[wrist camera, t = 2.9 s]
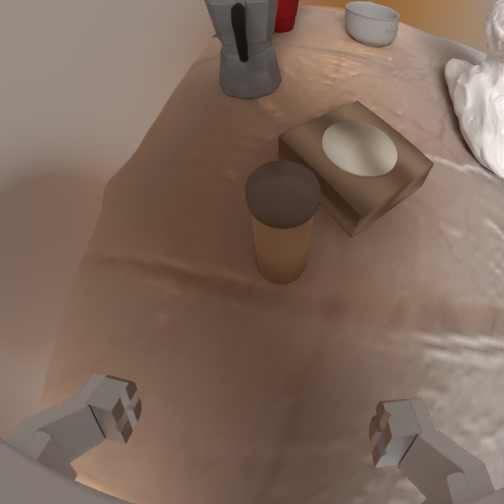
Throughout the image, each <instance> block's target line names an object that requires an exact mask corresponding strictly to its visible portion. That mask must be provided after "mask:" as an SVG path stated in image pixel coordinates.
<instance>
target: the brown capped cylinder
mask: <svg viewBox="0 0 504 504" xmlns="http://www.w3.org/2000/svg"><path fill="white" fill-rule="evenodd" d="M245 192H246V198H247V205H248V208H249V210H250V215H251V222H252V228H253V235H254V242H255V249H256V256H257V263H258V268H259V271H260V272H261V274H262V275H263V276H264V277H265V278H266V279H267V280H269V281H271V282H273V283H278V284H285V283H289V282H292V281H294V280H296V279H297V278H298V277H299V276H300V275H301V274H302V272H303V270H304V267H305V262H306V258H307V253H308V248H309V243H310V237H311V232H312V227H313V222H314V216H315V212H316V210H317V207H318V203H319V198H320V185H319V182H318V180H317V178H316V176H315V175H314V174H313V173H312V172H311V171H310V170H309V169H308V168H306V167H305V166H303V165H301V164H298V163H295V162H291V161H273V162H269V163H266V164H264V165H262V166H260V167H259V168H257V169H256V170H255V171H254V172H253V173H252V174H251V175H250V176H249V178H248V180H247V183H246V189H245Z"/></svg>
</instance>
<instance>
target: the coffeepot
mask: <svg viewBox="0 0 504 504" xmlns="http://www.w3.org/2000/svg"><path fill="white" fill-rule="evenodd" d="M204 1H205V3H206V6H207V9H208V12H209V14H210V17H211V20H212V23H213V26H214V28H215V31H216V34H217V37H218V38H219V40H220V41H221V42H222V49H221V54H220V81H219V84H220V85H221V87H222V89H223V91H224V92H225V93H226V94H227V95H230V96H232V97H236V98H243V99H251V98H258V97H262V96H266V95H268V94H270V93H272V92H274V91H275V90H276V89H277V87H278V85H279V83H280V82H281V76H280V72H279V68H278V64H277V59H276V55H275V51H274V48H273V46H272V45H271V38H270V37H271V36H272V35H273V34H274V28H275V21H276V13H277V6H278V0H204Z"/></svg>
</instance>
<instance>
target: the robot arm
mask: <svg viewBox="0 0 504 504" xmlns="http://www.w3.org/2000/svg"><path fill="white" fill-rule="evenodd" d="M136 391H137V387H136V384H135V382H132V381H129V380H125V379H121V378H117V377H114V376H110V375H106V374H102V373H99V372H96V373H94V374H93V375H92V376H91V378H90V379H89V380H88V382H87V383H86V384H85V385H84V387H83V388H82V389H81V391H80V392H79V393H78V395H77V396H76V397H75V399H74V400H72V399H69V400H67V401H64V402H62V403H60V404H57V405H55V406H53V407H50V408H48V409H46V410H43V411H41V412H39V413H36V414H34V415H31V416H29V417H27V418H24V419H22V420H21V421H20V422H19V423H18V425H17V426H16V427H15V428H14V430H13V431H12V432H11V434H10V435H9V436H8V437H7V439H6V440H5V441H4V440H2V439H1V438H0V504H134V503H131V502H128V501H125V500H122V499H119V498H117V497H114V496H111V495H108V494H106V493H103V492H101V491H98V490H96V489H93V488H91V487H89V486H86V485H84V484H82V483H79V482H77V481H75V478H76V476H77V473H76V471H75V470H74V469H73V467H72V466H71V465H70V462H72V461H73V460H75V459H76V458H78V457H79V456H81V455H82V454H84V453H86V452H87V451H89V450H90V449H92V448H93V447H95V446H96V445H98V444H99V443H101V442H102V441H104V440H105V438H107V439H110V440H113V441H117V442H120V443H124V444H126V443H127V441H128V439H129V437H130V435H131V433H132V432H133V430H132V426H131V425H133V424H135V423H136V422H138V420H139V418H140V415H141V410H142V405H141V400H140V398H139V397H138V396H137V395H136V394H135V392H136ZM376 412H377V414H376V415H375V416H373V417H372V420H371V422H370V427H369V439H370V443H371V444H372V445H373V446H375V448H374V450H373V452H372V456H373V461H374V467H375V468H378V467H389V466H398V468H399V469H400V470H401V471H402V472H403V473H404V474H405V475H406V476H407V477H408V479H409V480H410V481H411V482H412V483H413V484H414V485H415V486H416V487H417V488H418V489H419V490H420V492H421V493H422V494H423V495H424V496H425V497H426V498H427V499H426V500H425V501H424V502H423V503H421V504H504V487H503V488H501V489H499V490H497V491H495V490H494V488H493V485H492V482H491V479H490V477H489V474H488V471H487V469H486V466H485V464H484V463H483V462H482V461H480V460H479V459H477V458H476V457H475V456H473V455H472V454H470V453H469V452H468V451H466V450H465V449H464V448H462V447H461V446H459V445H458V444H457V443H455V442H454V441H452V440H451V439H450V438H448V437H447V436H446V435H444V434H443V433H442V432H440V431H437V432H436V430H435V428H434V425H433V423H432V420H431V418H430V415H429V413H428V410H427V408H426V405H425V403H424V401H423V399H422V398H421V397H420V398H411V399H400V400H389V401H380V402H379V403H378V405H377V407H376Z"/></svg>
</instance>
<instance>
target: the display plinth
mask: <svg viewBox="0 0 504 504" xmlns="http://www.w3.org/2000/svg"><path fill="white" fill-rule="evenodd" d="M279 161H291V162H295V163H298V164H301V165H303V166H305V167H306V168H308V169H309V170H310V171H311V172H312V173H313V174H314V175H315V176H316V178H317V180H318V182H319V185H320V198H319V203H320V204H321V205H322V206H323V207H324V208H325V210H326V211H327V212H328V213H329V214H330V215H331V216H332V217H333V218H334V219H335V220H336V221H337V223H338V224H339V225H340V226H341V227H342V228H343V229H344V230H345V231H346V233H347V234H348V235H349V236H350V237H351V238H352V237H353V236H355V235H356V234H358V233H359V232H360V231H362V230H363V229H364V228H366V227H367V226H369V225H370V224H371V223H373V222H374V221H375V220H377V219H378V218H380V217H381V216H382V215H384V214H385V213H386V212H388V211H389V210H390V209H392V208H393V207H394V206H396V205H397V204H398V203H400V202H401V201H402V200H404V199H405V198H406V197H408V196H409V195H410V194H412V193H413V192H414V191H416V190H417V189H418V188H419V187H421V186H422V184H423V183H424V181H425V179H426V177H427V175H428V174H429V172H430V170H431V168H432V166H433V164H434V163H433V162H432V161H430V160H429V159H428V158H427V157H426V156H425V155H424V154H423V153H422V152H421V151H419V150H418V149H417V148H416V147H415V146H414V145H413V144H412V143H410V142H409V141H408V140H407V139H406V138H405V137H403V136H402V135H401V134H400V133H399V132H397V131H396V130H395V129H394V128H392V127H391V126H390V125H389V124H387V123H386V122H385V121H384V120H382V119H381V118H380V117H379V116H377V115H376V114H375V113H373V112H372V111H371V110H369V109H368V108H367V107H365V106H364V105H363V104H361V103H360V102H358V101H356V102H354V103H351V104H349V105H346V106H344V107H342V108H339V109H337V110H334V111H332V112H330V113H327V114H325V115H323V116H321V117H318V118H316V119H314V120H312V121H309V122H307V123H305V124H303V125H301V126H299V127H296V128H294V129H292V130H290V131H288V132H286V133H284V134H282V135H279Z"/></svg>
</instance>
